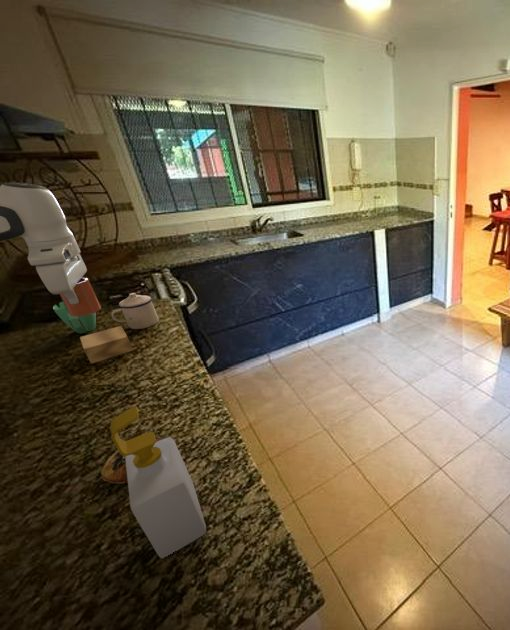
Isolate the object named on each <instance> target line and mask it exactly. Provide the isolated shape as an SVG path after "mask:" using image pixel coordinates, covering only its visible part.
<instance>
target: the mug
mask: <svg viewBox="0 0 510 630" xmlns="http://www.w3.org/2000/svg"><path fill="white" fill-rule="evenodd" d="M52 309H53V311H54V313H55V314H56V315H57V316H58V317H59V318H60V319H61V320H62V322H64V323H65V324H66V325H67V326H68V327H69V328H70V329H72V331H74V332H76V333H77V334H83V333H90V332H91V331H94V330H95V329H96V326H97V325H96V323H97V317H96V316H97V315H96V313H97V312H95V313H93V314H89V315H85V316H78V317H73V316H70V314H69V312H68V310H67V308H66V306H65V304H64V302H63V301H60V302H59V303H58V305H57V304H54V305H53V306H52Z"/></svg>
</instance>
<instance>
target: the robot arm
mask: <svg viewBox="0 0 510 630" xmlns="http://www.w3.org/2000/svg"><path fill="white" fill-rule="evenodd" d="M15 238H22V239H24V241H25V243H26V245H27V247H28V248H27V249H28V253H27V254H28V255H27V261H28V263H29V265H30V266H35V270H36V272H37V274H38V276H39V278H40V280H41V282H42V283H43V284H44V286H45V287H46V289H47V291H48V292H49V293H51V294H52V295H60V294H63V295H64V296H65V297H66V298H67V299H68V301H69V303H70V304H77V303H79V301H80V299H79V297H78V295H76V294H75V292H74V289H73V288H74V287H75V285H76V284H77V283H78V282H79V280H80V279H81V278H84V276H85V274H86V273H87V271H88V269H87V266H86V264H85V262H84V260H83V258H82V255H81V249H80V247H79V244H78V242H77V240H76V238H75V235H74V234H73V232H72V231H71V230H70V228H69V227H68V225H67V219H66V215H65V214H64V212H63V209H62V208H61V205H60V204H59V202H58V200H57V199H56V197H55V196H54V194H53V193H52V191H50V189H48V188H47V187H45V186H43V185H39V184H36V183H28V182H4V183H2V184H1V185H0V243H3V242H6V241H8V240H11V239H15Z"/></svg>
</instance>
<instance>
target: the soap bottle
mask: <svg viewBox="0 0 510 630" xmlns="http://www.w3.org/2000/svg"><path fill="white" fill-rule="evenodd" d="M139 413H140V412H139V408H138V407H137V406H136V405H134V406H131V407H130V408H128V409H127V410H125V411H123V412H121V413H120V414H118V415H117V416H115V417H114V418H113V419H112V420H111V421H110V437H111V440H112V442H113V444H114V446H115V447H116V449H117V450H118V451H119V453H120V454H121V455H122V456H126V458H125V460H126V470H127V479H128V483H127V488H128V496H129V497H128V498H129V505H130V506H129V507H130V511H131V512H132V514H133V515H134V517H135V519H136V520H137V522H138V524H139V526H140V528H141V529H142V530H143V532H144V534H145V536H146V538H147V539H148V541H149V542H150V544H151V546H152V548H153V549H154V551H155V553H156V554H157V556H158V557H159V558H160V559H162V558H163V559H165V558H164V557H166V556H167V557H169V556H171V555H172V554H174V553H176V552H177V551H180V550H181V549H182V548H184V547H186V546H187V545H190V544H191V543H192V542H194V541H196V540H198V539H199V538H201V537H203V536H204V535H205V534H206V533H207V525H206V521H205V518H204V515H203V511H202V508H201V505H200V501H199V498H198V494H197V492H196V488H195V484H194V482H193V479H192V477H191V475H190V473H189V471H188V469H187V466H186V464H185V461H184V459H183V457H182V455H181V452H180V450H179V448H178V446H177V443H176V442H175V440H174V439H173V438H172V437H171V436H169V437H166V438H163V440H161V441H158V442H156V438H155V435H156V434H155V431H151V430H150V431H147V432H145V433H143V434H140V435H138V436H134V437H133V438H130V439H127V440H124V439H122V437H120V434H119V432H120V431H122V430H123V429H124V428H127V427H128V426H129V425H130V424H133V423H134V422H135V421H137V420H138V419H139V417H140V414H139ZM175 551H176V552H175ZM173 552H174V553H173ZM170 554H171V555H170ZM168 555H169V556H168ZM167 557H166V558H167ZM163 559H162V560H163Z"/></svg>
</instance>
